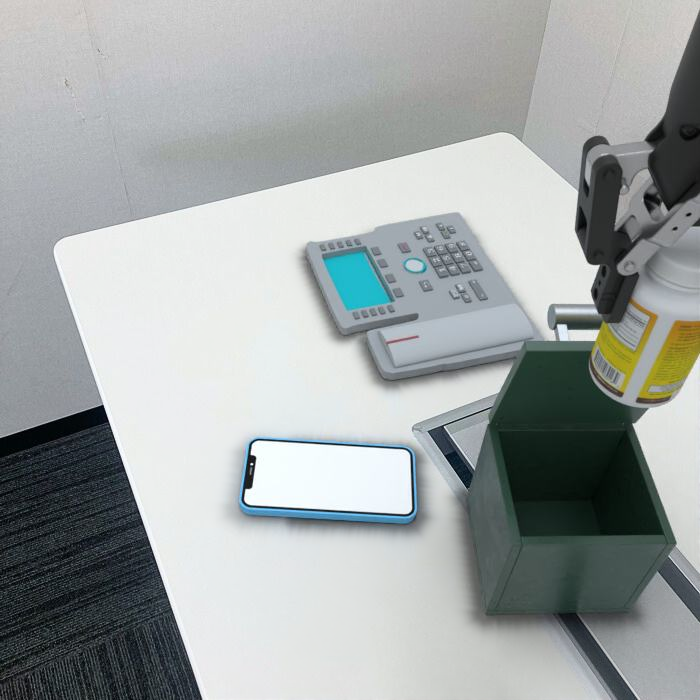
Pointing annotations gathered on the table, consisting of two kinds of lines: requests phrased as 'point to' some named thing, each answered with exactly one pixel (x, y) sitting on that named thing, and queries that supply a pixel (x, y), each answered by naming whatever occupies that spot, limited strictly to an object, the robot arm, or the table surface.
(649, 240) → the robot arm
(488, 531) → the waste bin
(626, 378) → the supplement bottle
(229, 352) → the table surface
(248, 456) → the smartphone
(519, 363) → the bin lid
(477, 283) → the office telephone
